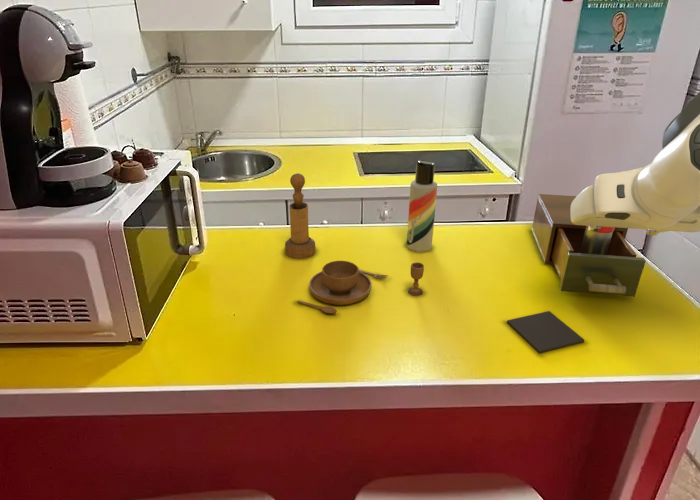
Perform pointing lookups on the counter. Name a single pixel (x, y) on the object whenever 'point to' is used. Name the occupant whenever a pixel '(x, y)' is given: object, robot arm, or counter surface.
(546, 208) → the cabinet
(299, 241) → the mortar and pestle
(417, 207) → the lotion bottle
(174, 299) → the counter surface
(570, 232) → the drawer
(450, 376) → the counter surface
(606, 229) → the spice jar
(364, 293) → the place setting
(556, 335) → the mat
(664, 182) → the robot arm
